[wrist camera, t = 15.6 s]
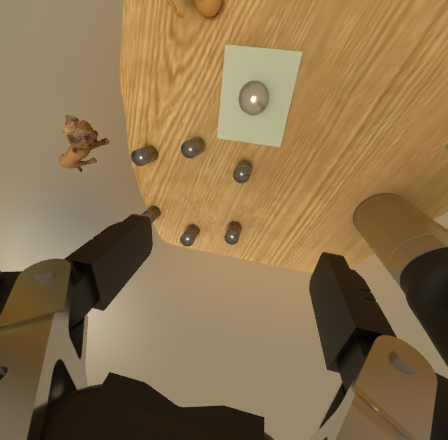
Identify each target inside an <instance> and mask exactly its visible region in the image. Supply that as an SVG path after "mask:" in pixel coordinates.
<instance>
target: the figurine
mask: <svg viewBox="0 0 448 440" xmlns="http://www.w3.org/2000/svg"><path fill="white" fill-rule="evenodd" d="M166 1H167V2H168V3H169V5H170V6H171V8H172V9H173V10H174V12H175V13H176V15H177V16H178V17H179V18H180V17H181V16H183V15H181V14H180V13H182V12H178V11H177V9H176V7H175V5H174V4H173V2H172V1H171V0H166ZM195 4H196V7H197V9H198V11H199V12H200V13H201V14H202V15H204V16H206V17H212V16H214V15H216V14H217V12H218V11H219V9H220V7H221V4H222V0H195ZM183 17H184V16H183ZM181 18H182V17H181ZM181 18H180V19H181Z"/></svg>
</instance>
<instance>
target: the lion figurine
mask: <svg viewBox="0 0 448 440" xmlns="http://www.w3.org/2000/svg"><path fill="white" fill-rule="evenodd" d="M66 121H67V122H66V123H65V125H64V126H63V129H62V132H63V133H65V135H66V137H67V138H68V141H69V142H70V144H71V145H70V147H69V149H68V151H67V152H66V153H65V154H63V155H61V156H60V157H59V162H60V165H61V166H62V167H65V168H78V169H79V170H80V171H81V172H82V168H81V167H80V166H82V165H87V164H90V163H96V162H97V161H96V159H95V158H92V159H90V160H88V161H80V160H81V159H83V158H85V157H86V156H87V155H88V154H89V152H90V150H92V149H94V148H96V147H99V146H101V145H106V144H108V143H109V141H108V139H107V138H105V139H102V140H101V141H97V135H98V133H97V131H93V129H92V127H91V125H90V124H89V123H88V122H86V121H84V120H82V121H79V120H78V118H75V117H74V116H70V115H66Z"/></svg>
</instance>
